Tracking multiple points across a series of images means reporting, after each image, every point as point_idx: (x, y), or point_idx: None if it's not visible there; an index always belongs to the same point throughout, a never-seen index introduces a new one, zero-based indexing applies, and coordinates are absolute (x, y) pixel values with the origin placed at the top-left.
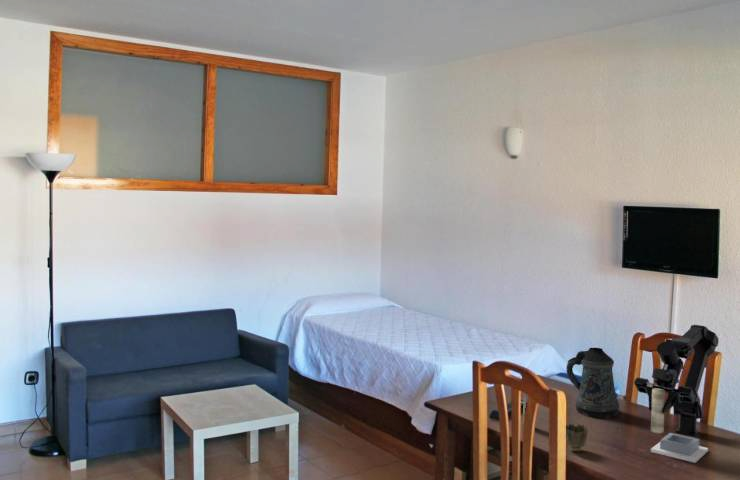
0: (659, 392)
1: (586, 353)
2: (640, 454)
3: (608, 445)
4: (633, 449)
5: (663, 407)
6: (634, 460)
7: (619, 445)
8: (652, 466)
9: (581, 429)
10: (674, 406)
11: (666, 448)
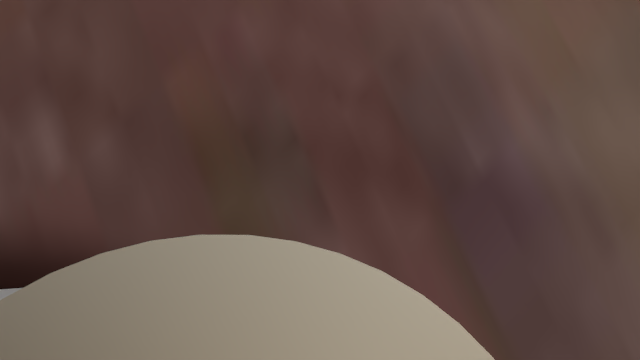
0: (41, 285)
1: None
2: (305, 168)
3: (530, 175)
4: (381, 227)
5: None
6: (288, 36)
7: (482, 230)
8: (159, 16)
9: None
10: None
11: None
